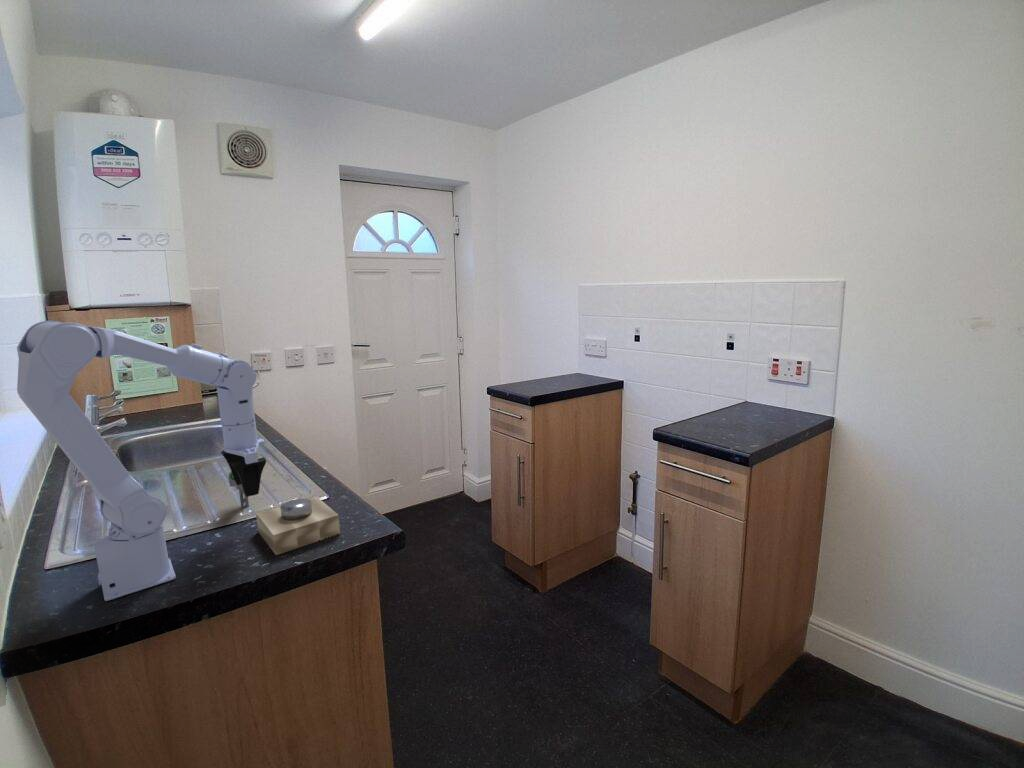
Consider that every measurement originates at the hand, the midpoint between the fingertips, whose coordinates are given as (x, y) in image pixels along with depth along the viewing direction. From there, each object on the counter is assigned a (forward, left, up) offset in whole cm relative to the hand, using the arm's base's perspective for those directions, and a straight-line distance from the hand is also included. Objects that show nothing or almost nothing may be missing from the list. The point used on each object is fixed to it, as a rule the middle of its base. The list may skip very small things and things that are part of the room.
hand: (247, 489), depth 99 cm
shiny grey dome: (+7, -6, -9) cm, 13 cm away
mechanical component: (+2, +15, -10) cm, 18 cm away
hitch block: (+7, -6, -9) cm, 13 cm away
